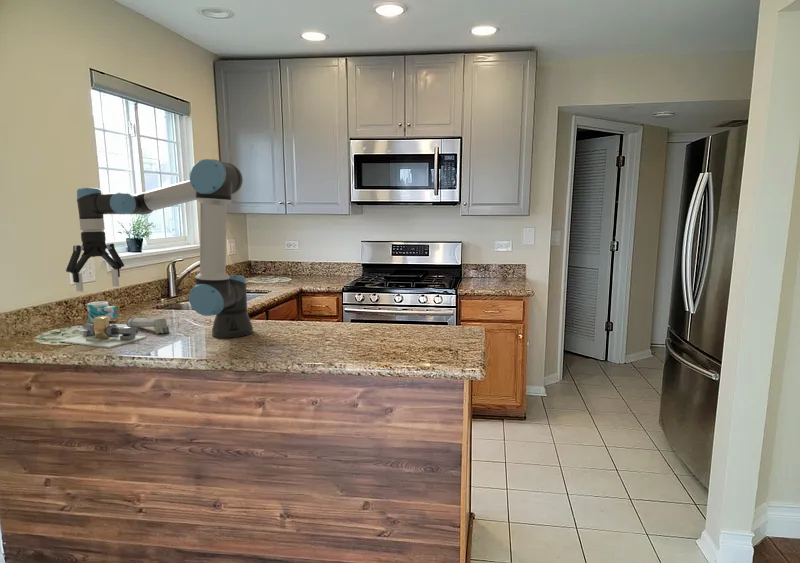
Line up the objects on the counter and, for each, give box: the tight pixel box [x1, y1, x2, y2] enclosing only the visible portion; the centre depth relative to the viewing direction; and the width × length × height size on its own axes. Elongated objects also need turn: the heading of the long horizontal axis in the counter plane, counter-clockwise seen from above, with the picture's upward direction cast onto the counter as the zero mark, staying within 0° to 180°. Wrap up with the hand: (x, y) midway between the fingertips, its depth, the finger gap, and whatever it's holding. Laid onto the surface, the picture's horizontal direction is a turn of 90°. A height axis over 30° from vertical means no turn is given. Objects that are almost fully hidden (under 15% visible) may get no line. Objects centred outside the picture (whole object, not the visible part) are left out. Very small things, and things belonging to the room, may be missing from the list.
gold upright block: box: [93, 316, 110, 340], centre depth 182 cm, size 5×5×8 cm
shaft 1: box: [82, 322, 95, 337], centre depth 188 cm, size 10×5×5 cm, turn 54°
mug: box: [86, 300, 118, 324], centre depth 217 cm, size 8×12×8 cm
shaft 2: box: [106, 323, 139, 341], centre depth 182 cm, size 10×5×5 cm, turn 84°
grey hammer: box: [126, 316, 170, 335], centre depth 199 cm, size 5×7×25 cm
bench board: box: [58, 334, 147, 349], centre depth 183 cm, size 26×15×2 cm, turn 69°
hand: (98, 288), depth 181 cm, fingers open, 13 cm apart
